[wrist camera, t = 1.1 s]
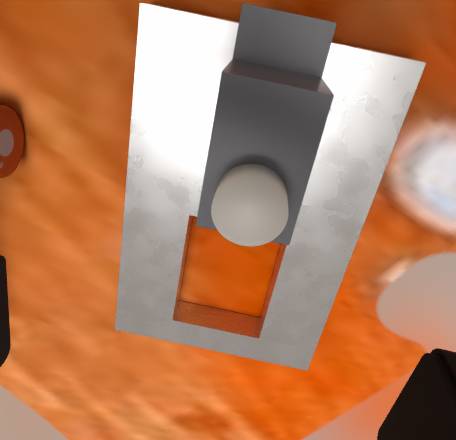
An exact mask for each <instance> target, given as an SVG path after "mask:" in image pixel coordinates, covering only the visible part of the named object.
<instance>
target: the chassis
mask: <svg viewBox="0 0 456 440" xmlns="http://www.w3.org/2000/svg"><path fill="white" fill-rule="evenodd" d="M238 25H239V22H238V21H234V20H229V19H224V18H219V17H215V16H210V15H205V14H200V13H196V12H191V11H186V10H181V9H177V8H172V7H167V6H162V5H158V4H153V3H140V11H139V24H138V37H137V50H136V63H135V76H134V89H133V102H132V115H131V128H130V141H129V155H128V168H127V181H126V194H125V207H124V220H123V233H122V246H121V259H120V272H119V285H118V298H117V311H116V324H115V330H119V331H124V332H129V333H133V334H138V335H143V336H148V337H152V338H157V339H162V340H166V341H171V342H176V343H181V344H185V345H190V346H195V347H199V348H204V349H209V350H213V351H218V352H223V353H228V354H232V355H237V356H242V357H246V358H251V359H256V360H260V361H265V362H270V363H275V364H279V365H284V366H289V367H293V368H298V369H303V370H307V369H308V367H309V364H310V362H311V359H312V357H313V354H314V351H315V349H316V346H317V344H318V341H319V338H320V336H321V333H322V331H323V328H324V326H325V323H326V320H327V318H328V315H329V313H330V310H331V307H332V305H333V302H334V300H335V297H336V295H337V292H338V289H339V287H340V284H341V282H342V279H343V276H344V274H345V271H346V269H347V266H348V264H349V261H350V258H351V256H352V253H353V251H354V248H355V245H356V243H357V240H358V238H359V235H360V233H361V230H362V227H363V225H364V222H365V220H366V217H367V214H368V212H369V209H370V207H371V204H372V202H373V199H374V196H375V194H376V191H377V189H378V186H379V183H380V181H381V178H382V176H383V173H384V170H385V168H386V165H387V163H388V160H389V158H390V155H391V152H392V150H393V147H394V145H395V142H396V139H397V137H398V134H399V132H400V129H401V127H402V124H403V121H404V119H405V116H406V114H407V111H408V108H409V106H410V103H411V101H412V98H413V96H414V93H415V90H416V88H417V85H418V83H419V80H420V77H421V75H422V72H423V70H424V67H425V65H426V63H425V62H422V61H419V60H416V59H413V58H409V57H404V56H400V55H395V54H390V53H385V52H381V51H376V50H371V49H366V48H362V47H357V46H352V45H347V44H343V43H338V42H333V41H332V43H331V46H330V50H329V54H328V57H327V61H326V64H325V68H324V71H323V75H322V79H323V81H324V82H325V83H326V85H327V86H328V87H329V89H330V90H331V92H332V93H333V94H334V98H333V101H332V104H331V108H330V111H329V114H328V118H327V121H326V124H325V128H324V131H323V134H322V138H321V141H320V144H319V148H318V151H317V154H316V158H315V161H314V164H313V168H312V171H311V174H310V178H309V181H308V184H307V188H306V191H305V194H304V198H303V201H302V205H301V208H300V211H299V215H298V218H297V221H296V225H295V228H294V231H293V235H292V238H291V241H290V245H285V244H281V246H280V250H279V253H278V257H277V260H276V264H275V267H274V271H273V274H272V278H271V281H270V285H269V288H268V292H267V295H266V299H265V302H264V306H263V309H262V312H261V316H260V318H259V317H254V316H250V315H245V314H240V313H236V312H231V311H226V310H221V309H217V308H212V307H207V306H203V305H198V304H193V303H188V302H184V301H179V296H180V290H181V284H182V278H183V272H184V266H185V260H186V254H187V248H188V242H189V236H190V230H191V224H192V217H193V216H196V217H197V214H198V209H199V203H200V197H201V191H202V185H203V179H204V173H205V167H206V162H207V156H208V150H209V144H210V138H211V132H212V126H213V120H214V115H215V109H216V103H217V97H218V91H219V85H220V79H221V74H222V71H223V70H224V68H225V67H226V66H227V65H228V64H229V63H230V61H231V60H232V58H233V53H234V47H235V42H236V36H237V31H238Z"/></svg>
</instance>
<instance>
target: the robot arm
mask: <svg viewBox="0 0 456 440" xmlns="http://www.w3.org/2000/svg"><path fill="white" fill-rule="evenodd" d="M9 351H10V327H9V309H8V292H7V274H6V260H5V258H4V256H1V255H0V367H1V366H2V364H3V363H4V362H5V360H6V358H7V356H8V354H9ZM377 440H456V352H451V351H447V350H443V349H434V350H432V352H431V353H426V354H424V355H423V356H422V358H421V359H420V361H419V363H418V364H417V366H416V368H415V370H414V371H413V373H412V375H411V376H410V378H409V380H408V381H407V383H406V385H405V386H404V388H403V390H402V392H401V393H400V395H399V397H398V398H397V400H396V402H395V404H394V405H393V407H392V408H391V410H390V412H389V414H388V415H387V417H386V419H385V420H384V422H383V424H382V426H381V427H380V429H379V431H378V437H377Z"/></svg>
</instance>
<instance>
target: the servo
mask: <svg viewBox="0 0 456 440" xmlns="http://www.w3.org/2000/svg"><path fill="white" fill-rule="evenodd" d="M336 25H337V23H336V22H331V21H326V20H321V19H317V18H312V17H307V16H303V15H298V14H293V13H288V12H284V11H279V10H274V9H269V8H265V7H260V6H255V5H250V4H246V3H242V8H241V14H240V19H239V25H238V31H237V36H236V42H235V47H234V53H233V58H232V60H231V61H230V63H229V64H228V65H227V66H226V67H225V68H224V70H223V71H222V74H221V79H220V85H219V91H218V97H217V103H216V109H215V115H214V120H213V126H212V132H211V138H210V144H209V150H208V156H207V162H206V167H205V173H204V179H203V185H202V191H201V197H200V203H199V209H198V214H197V220H196V226H200V227H205V228H209V229H214V230H218V231H219V233H220V234H221V235H222V236H223V237H225V238H226V239H227V240H229V241H231V242H233V243H235V244H238V245H242V246H259V245H263V244H266V243H268V242H270V241H271V242H275V243H280V244H285V245H290V241H291V238H292V235H293V231H294V228H295V225H296V221H297V218H298V215H299V211H300V208H301V205H302V201H303V198H304V194H305V191H306V188H307V184H308V181H309V178H310V174H311V171H312V168H313V164H314V161H315V158H316V154H317V151H318V148H319V144H320V141H321V138H322V134H323V131H324V128H325V124H326V121H327V118H328V114H329V111H330V108H331V104H332V101H333V98H334V94H333V93H332V92H331V90H330V89H329V87H328V86H327V85H326V83H325V82H324V81H323V79H322V75H323V71H324V68H325V64H326V61H327V57H328V54H329V50H330V46H331V43H332V39H333V36H334V32H335V29H336Z"/></svg>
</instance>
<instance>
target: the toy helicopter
mask: <svg viewBox="0 0 456 440" xmlns="http://www.w3.org/2000/svg"><path fill="white" fill-rule="evenodd" d="M23 146H24V133H23V128H22V125H21V122H20V119H19V118H18V116H17V114H16V113H15V112H14V111H13V110H12V109H11V108H9V107H7V106H5V105H1V104H0V178H3V177H6V176H8V175H10V174H11V173H12V172H13V171H14V170H15V169H16V167H17V165H18V163H19V161H20V158H21V156H22V152H23Z"/></svg>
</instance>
